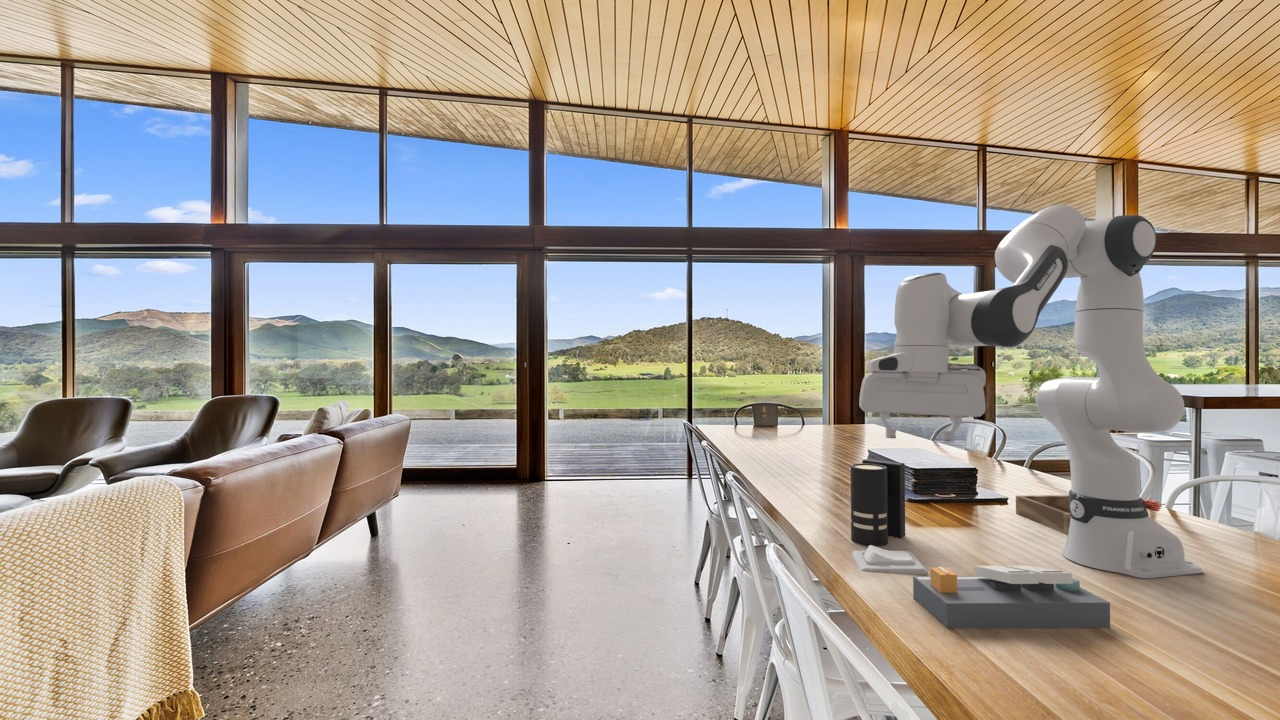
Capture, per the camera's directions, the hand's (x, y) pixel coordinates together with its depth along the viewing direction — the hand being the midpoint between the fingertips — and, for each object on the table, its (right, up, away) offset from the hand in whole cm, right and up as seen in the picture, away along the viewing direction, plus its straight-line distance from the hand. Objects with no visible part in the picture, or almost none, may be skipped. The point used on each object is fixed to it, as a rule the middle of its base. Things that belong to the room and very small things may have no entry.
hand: (919, 439), depth 99 cm
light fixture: (+6, -29, +34) cm, 45 cm away
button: (+23, -25, -5) cm, 34 cm away
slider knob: (+2, -25, -5) cm, 25 cm away
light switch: (+2, -30, +18) cm, 35 cm away
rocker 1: (+12, -23, -5) cm, 27 cm away
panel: (+12, -29, -5) cm, 32 cm away
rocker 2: (+17, -23, -5) cm, 29 cm away
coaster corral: (+63, -28, +44) cm, 82 cm away
